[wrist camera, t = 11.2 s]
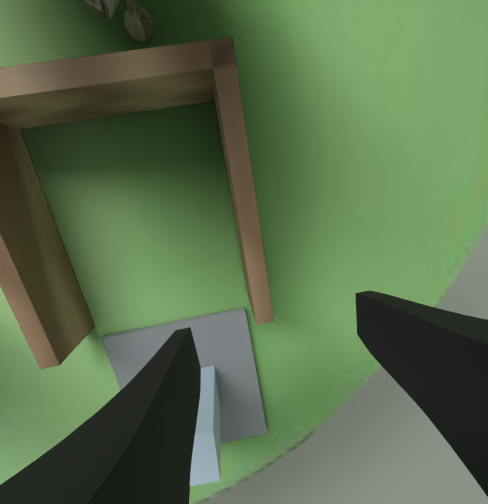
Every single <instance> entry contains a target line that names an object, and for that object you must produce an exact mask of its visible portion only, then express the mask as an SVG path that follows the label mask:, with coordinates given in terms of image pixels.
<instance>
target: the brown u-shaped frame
mask: <svg viewBox="0 0 488 504" xmlns="http://www.w3.org/2000/svg"><path fill="white" fill-rule="evenodd" d="M209 101H215V107H216V113H217V118H218V124H219V130H220V136H221V141H222V147H223V153H224V159H225V164H226V170H227V176H228V182H229V187H230V193H231V199H232V205H233V210H234V216H235V222H236V227H237V233H238V239H239V245H240V250H241V256H242V262H243V268H244V273H245V279H246V285H247V291H248V296H249V300H250V303H251V307H252V310H253V314H254V317H255V321H256V324H262V323H266V322H271V321H274V319H273V312H272V305H271V298H270V291H269V284H268V278H267V271H266V264H265V257H264V250H263V244H262V237H261V230H260V223H259V216H258V209H257V203H256V196H255V189H254V182H253V175H252V169H251V162H250V155H249V148H248V141H247V135H246V128H245V121H244V114H243V107H242V100H241V94H240V87H239V80H238V73H237V66H236V60H235V53H234V46H233V39H232V37H229V38H222V39H214V40H206V41H199V42H191V43H184V44H176V45H168V46H161V47H153V48H145V49H138V50H130V51H123V52H115V53H107V54H100V55H92V56H85V57H77V58H69V59H62V60H54V61H46V62H39V63H31V64H24V65H16V66H8V67H1V68H0V286H1V288H2V290H3V293H4V295H5V297H6V299H7V301H8V303H9V305H10V307H11V309H12V311H13V313H14V315H15V318H16V320H17V322H18V324H19V326H20V328H21V330H22V332H23V334H24V336H25V338H26V340H27V343H28V345H29V347H30V349H31V351H32V353H33V355H34V357H35V359H36V361H37V363H38V366H39V368H40V369H44V368H49V367H54V366H58V365H60V364H61V363H62V362H63V361H64V360H65V359H66V358H67V356H68V355H69V354H70V353H71V352H72V351H73V350H74V349H75V348H76V347H77V345H78V344H79V343H80V342H81V341H82V340H83V339H84V338H85V337H86V336H87V334H88V333H89V332H90V331H91V330H92V329H93V328H94V327H95V326H94V323H93V321H92V318H91V316H90V313H89V310H88V308H87V305H86V302H85V300H84V297H83V295H82V292H81V289H80V287H79V284H78V281H77V279H76V276H75V274H74V271H73V268H72V266H71V263H70V260H69V258H68V255H67V253H66V250H65V247H64V245H63V242H62V240H61V237H60V234H59V232H58V229H57V226H56V224H55V221H54V219H53V216H52V213H51V211H50V208H49V205H48V203H47V200H46V198H45V195H44V192H43V190H42V187H41V185H40V182H39V179H38V177H37V174H36V171H35V169H34V166H33V164H32V161H31V158H30V156H29V153H28V150H27V148H26V145H25V143H24V140H23V137H22V135H21V132H20V129H26V128H33V127H39V126H46V125H53V124H60V123H67V122H73V121H80V120H87V119H94V118H101V117H107V116H114V115H121V114H128V113H135V112H141V111H148V110H155V109H162V108H169V107H175V106H182V105H189V104H196V103H203V102H209Z"/></svg>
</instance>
